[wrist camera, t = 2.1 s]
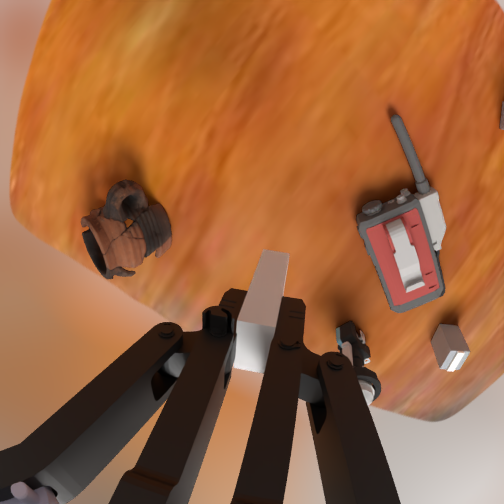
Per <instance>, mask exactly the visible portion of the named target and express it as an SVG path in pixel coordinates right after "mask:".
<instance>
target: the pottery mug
mask: <svg viewBox="0 0 504 504" xmlns="http://www.w3.org/2000/svg"><path fill="white" fill-rule="evenodd" d="M127 218H128V219H131V220H133V221H134V222H133V223H132V224H131V225H130V226H129V227H128V228H127V227H126V224H125V223H124V221H126V220H127ZM81 225H82V227H86V226H88V227H89V230H87V231H84V232H83V233H82V236H83V239H84V243H85V245H86V248H87V251H88V253H89V255H90V257H91V259H92V261H93V263H94V264H95V266H96V267H97V269H98V270H99V272H100V273H101V275H102V276H104V277H105V278H106V279H113V276H114V275H117V276H122V277H126V276H133V275H134V274H135V271H128V270H125V269H124V268H122V267H128V268H131V267H133V268H135V267H137V266H139V265H140V264H141V263H142V262H143V259H144V257H147V256H149V255H150V254H151V253H152V252H154V251H155V250H156V253H155V256H156V257H157V258H159V257H160V256H162V255H163V254H164V253H165V252H166V250H168V249H169V248H170V246H171V242H172V236H171V235H172V233H171V225H170V223H169V219H168V217H167V214H166V212H165V211H164V209H163V207H162V206H161V204H159V203H158V204H156V205H151V206H148V199H147V197H146V196H145V194H144V191H143V189H142V187H141V186H140V185H139V184H137V183H136V182H134V181H130V180H123V181H120V182H118V183H116V184H115V185H113V186H112V188H111V189H110V190H109V192H108V195H107V199H106V204H105V206H104V207H101V208H99V209H94V210H92V211H91V212H90V215H88V216H85V217H83V218H82V219H81Z"/></svg>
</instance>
